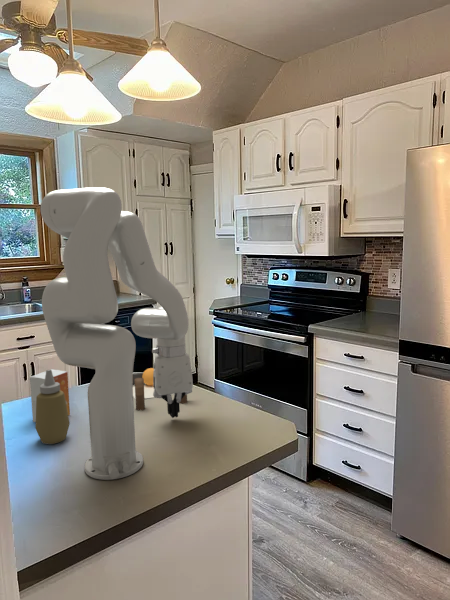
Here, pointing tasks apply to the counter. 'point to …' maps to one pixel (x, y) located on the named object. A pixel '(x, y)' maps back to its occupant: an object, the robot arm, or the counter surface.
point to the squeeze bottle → (51, 412)
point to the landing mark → (146, 392)
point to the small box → (40, 379)
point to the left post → (139, 394)
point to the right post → (184, 399)
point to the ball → (148, 376)
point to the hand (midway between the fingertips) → (173, 415)
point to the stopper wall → (137, 376)
